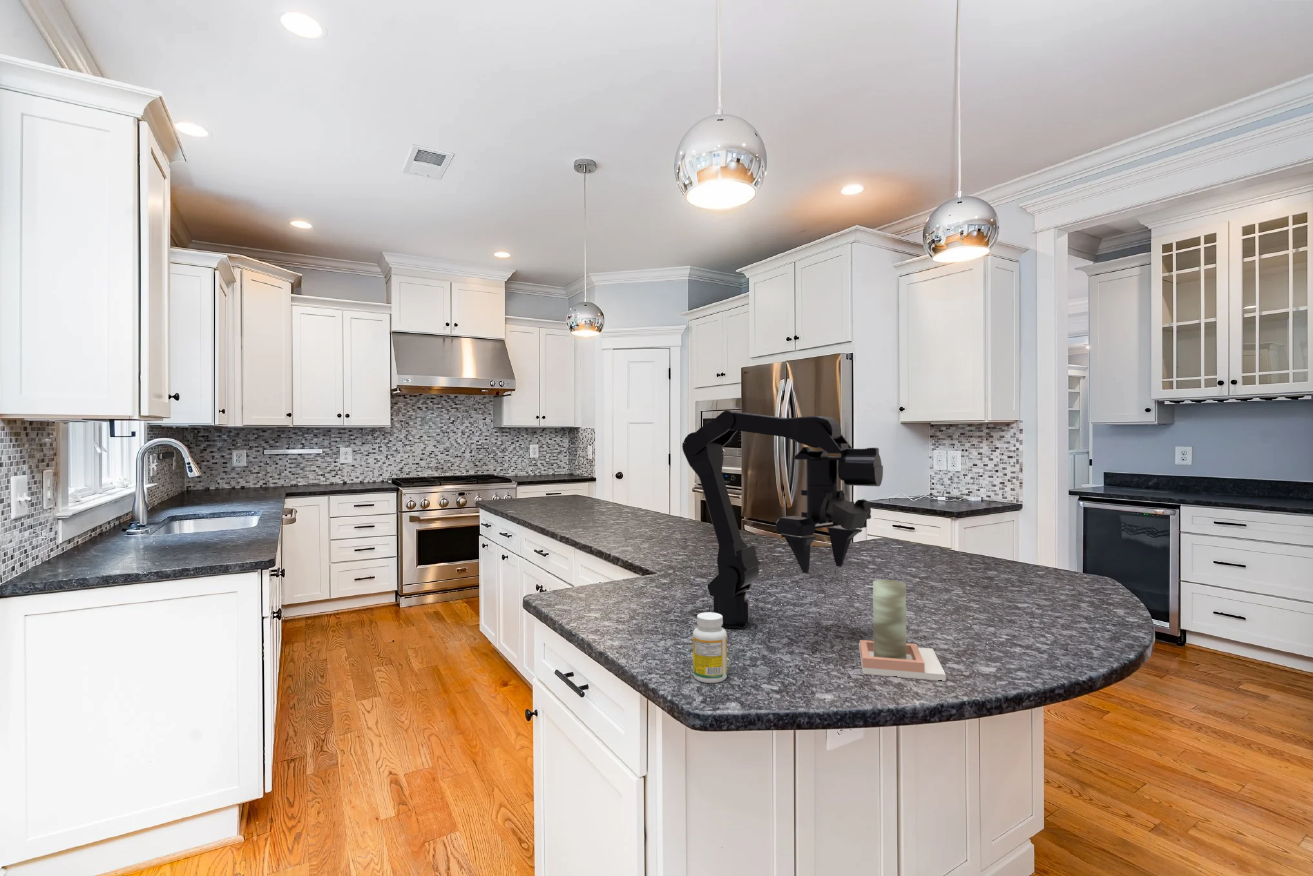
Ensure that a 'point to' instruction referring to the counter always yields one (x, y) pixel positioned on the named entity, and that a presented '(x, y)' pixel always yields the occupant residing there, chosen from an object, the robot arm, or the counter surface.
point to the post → (889, 619)
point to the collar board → (902, 663)
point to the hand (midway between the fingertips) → (822, 569)
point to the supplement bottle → (710, 648)
